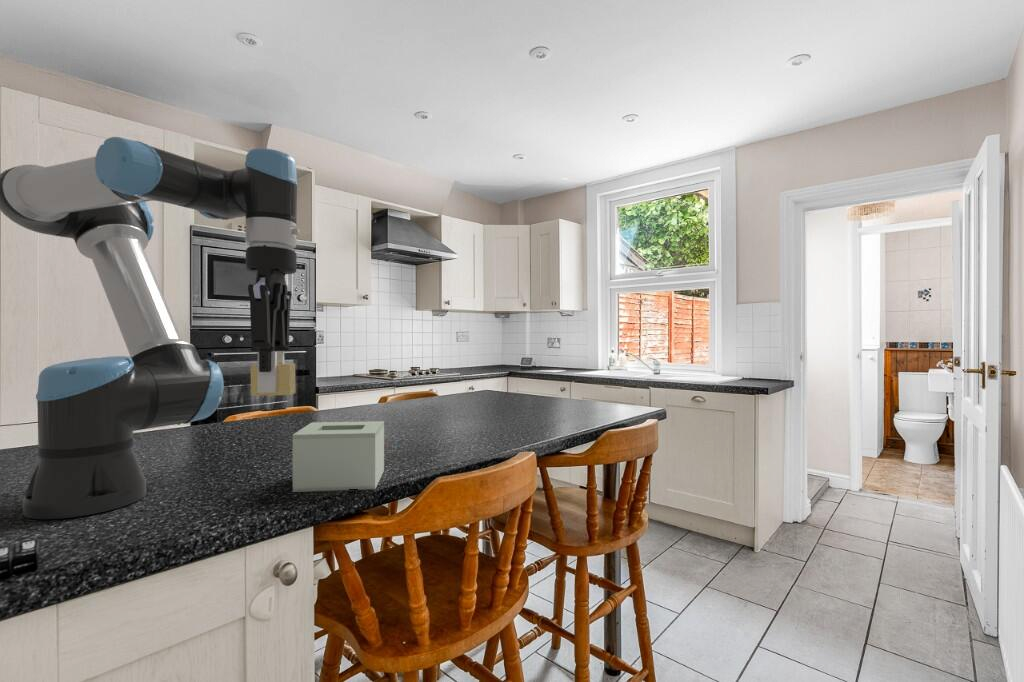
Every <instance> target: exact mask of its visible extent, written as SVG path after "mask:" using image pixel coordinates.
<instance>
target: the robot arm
mask: <svg viewBox="0 0 1024 682" xmlns="http://www.w3.org/2000/svg"><path fill="white" fill-rule="evenodd" d="M95 154H96V155H95V156H92V157H87V158H81V159H78V160H72V161H67V162H64V163H59V164H55V165H50V166H42V165H39V164H22V165H18V166H14V167H11V168H8V169H6V170H4V171H2V172H1V173H0V212H1V213H2V214H3V215H4V216H6V218H8V219H9V220H11V221H12V222H13V223H14V224H15V223H16V224H17V225H18V226H20V227H23V229H27V230H29V231H32V232H35V233H39V234H43V235H47V236H48V235H50V236H55V237H60V238H67V239H72V240H74V243H75V246H76V248H77V250H78V251H79V253H80V254H81V255H83V256H84V257H86V258H87V259H90V260H92V263H93V265H94V268H95V271H96V272H97V275H98V277H99V280H100V282H101V285H102V288H103V290H104V293H105V295H106V298H107V300H108V302H109V305H110V308H111V310H112V313H113V316H114V319H115V321H116V323H117V326H118V328H119V331H120V334H121V336H122V338H123V341H124V343H125V346H126V349H127V351H128V353H129V356H126V355H122V356H121V355H118V356H116V355H115V356H105V357H93V358H85V359H84V358H83V359H76V360H70V361H65V362H60V363H55V364H52V365H50V366H47V367H45V368H44V369H43V370H41V371H40V373H39V375H38V384H37V393H36V394H35V399H36V401H37V404H36V405H37V442H38V443H37V445H38V447H37V448H38V449H37V451H38V454H37V455H38V460H37V465H36V467H35V469H34V472H33V474H32V476H31V479H30V481H29V483H28V486H27V489H26V492H25V494H24V497H23V498H22V515H23V516H24V517H25V518H28V519H34V520H60V519H69V518H71V519H72V518H77V517H85V516H89V515H90V516H91V515H95V514H99V513H104V512H105V513H106V512H110V511H112V510H116V509H119V508H123V507H126V506H128V505H130V504H133V503H135V502H138V501H140V500H141V499H143V498H144V497H145V496H146V495H147V479H146V477H145V475H144V473H143V470H142V468H141V465H140V463H139V460H138V459H137V456H136V454H135V452H134V432H136V431H141V430H150V429H155V428H160V427H168V426H174V425H181V424H183V425H184V424H190V423H192V422H195V421H196V422H197V421H201V420H205V419H207V418H208V417H210V416H211V415H212V414H214V413H215V412H216V410H217V409H218V407H219V405H220V404H221V401H222V397H223V393H224V387H225V386H224V377H223V373H222V370H221V368H220V366H219V365H218V364H217V363H216V362H215V361H212V360H210V359H202V360H201V358H200V356H199V353H198V351H197V349H196V347H195V346H194V345H193V344H192V343H191V342H186V341H183V338H182V336H181V334H180V332H179V330H178V327H177V325H176V323H175V319H174V318H173V315H172V313H171V311H170V308H169V306H168V304H167V302H166V299H165V297H164V294H163V292H162V289H161V287H160V284H159V282H158V280H157V278H156V275H155V273H154V271H153V268H152V266H151V264H150V261H149V259H148V257H147V254H146V251H145V249H146V248H147V247H148V244H149V242H150V240H151V239H152V237H153V234H154V227H155V226H154V225H153V223H154V217H153V212H152V210H151V208H150V206H149V204H148V203H147V202H150V201H151V202H152V201H156V202H162V203H165V204H171V205H176V206H179V207H182V208H188V209H192V210H195V211H196V212H198V213H199V214H201V215H202V216H204V217H206V218H208V219H211V220H223V221H224V220H230V219H231V220H232V219H236V218H243V217H245V235H244V236H245V238H244V239H245V241H244V242H245V244H246V245H247V246H248V247H247V248H246V249H245V268H246V270H247V271H248V272H251V273H256V278H255V283H254V284H248V285H247V291H248V297H249V308H250V310H249V311H250V340H251V341H250V343H251V347H250V351H251V352H254V353H257V359H256V360H257V363H256V364H257V393H262V392H277V363H285V351H291V346H290V322H291V321H290V320H291V319H290V317H291V302H292V301H291V300H292V296H293V295H292V291H291V290H289V287H288V285H287V284H286V283H287V282H286V275H294V274H295V273H296V272H297V255H298V254H297V253H296V251H295V250H294V249H296V248H297V235H300V233H301V232H300V229H298V228H297V214H298V213H297V205H298V202H297V201H298V200H297V199H298V184H299V182H298V174H297V163H296V160H295V159H294V158H293V157H292V156H291V155H289V154H288V153H286V152H282V151H280V150H277V149H272V148H271V149H270V148H259V147H258V148H253V149H250V150H249V151H248V152H247V153H246V156H245V162H244V166H245V167H244V168H240V169H235V170H225V169H221V168H219V167H215V166H212V165H209V164H207V163H203V162H200V161H197V160H194V159H192V158H191V159H190V158H187V157H184V156H181V155H178V154H175V153H172V152H171V151H170V152H169V151H166V150H163V149H160V148H158V147H154V146H152V145H149V144H147V143H144V142H143V141H138V140H132V139H127V138H123V137H120V136H112V137H108V138H107V139H105V140H104V142H103V144H101V145H100V146H99V147H98V149H97V151H96V153H95Z"/></svg>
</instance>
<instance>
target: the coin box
mask: <svg viewBox="0 0 1024 682" xmlns="http://www.w3.org/2000/svg"><path fill="white" fill-rule="evenodd" d="M384 443H385V421H384V420H383V421H382V420H381V421H380V420H377V421H375V420H371V421H326V422H325V421H322V422H318V421H315V422H313V421H312V422H310V423H309V424H307V425H306V426H304V427H302V428H301V429H299V430H298V431H296V432H295V433H293V434H292V493H303V492H333V491H334V492H335V491H350V490H349V489H358V490H357V491H362V490H363V491H364V490H376V488H377V486H378V484H379V481H380V480H381V478H382V476H383V474H384V471H385V451H384Z"/></svg>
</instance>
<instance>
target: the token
mask: <svg viewBox="0 0 1024 682" xmlns="http://www.w3.org/2000/svg"><path fill="white" fill-rule="evenodd" d="M293 394H296V363H294V362H292V363H291V362H284V363H277V392H262V393H257V363H253V364H250V396H253V397H254V396H255V397H257V396H262V397H263V396H292V395H293Z"/></svg>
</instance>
